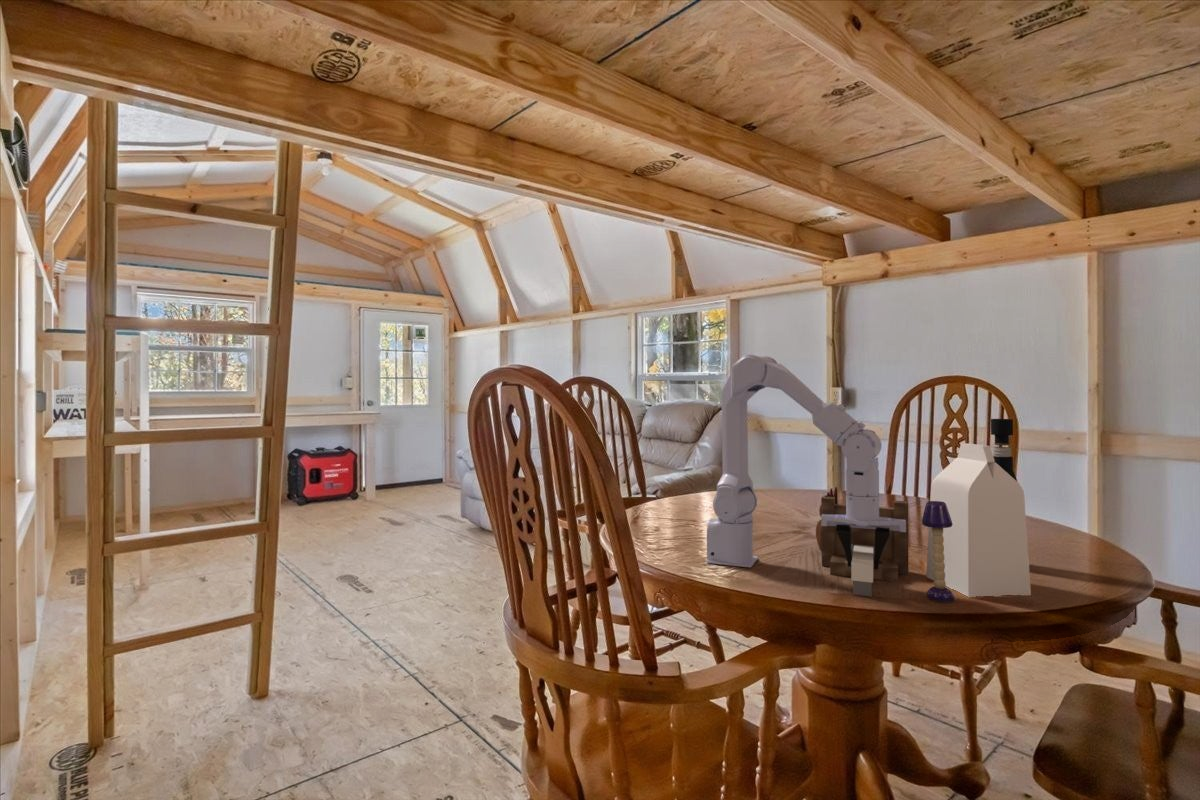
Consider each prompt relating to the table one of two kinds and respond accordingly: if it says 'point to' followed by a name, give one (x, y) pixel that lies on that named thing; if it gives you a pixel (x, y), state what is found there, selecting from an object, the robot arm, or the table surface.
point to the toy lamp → (938, 548)
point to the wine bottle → (1003, 454)
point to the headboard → (866, 542)
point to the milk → (982, 526)
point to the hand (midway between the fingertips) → (862, 566)
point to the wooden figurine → (818, 527)
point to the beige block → (862, 569)
